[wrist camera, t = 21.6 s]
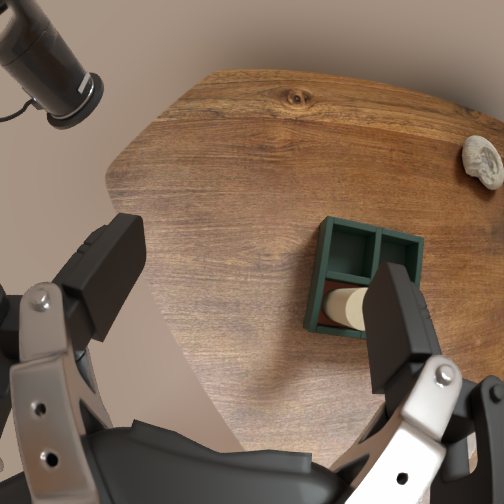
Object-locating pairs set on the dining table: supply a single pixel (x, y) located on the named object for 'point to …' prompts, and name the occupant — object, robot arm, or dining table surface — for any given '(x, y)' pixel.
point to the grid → (355, 265)
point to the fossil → (483, 162)
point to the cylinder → (345, 306)
